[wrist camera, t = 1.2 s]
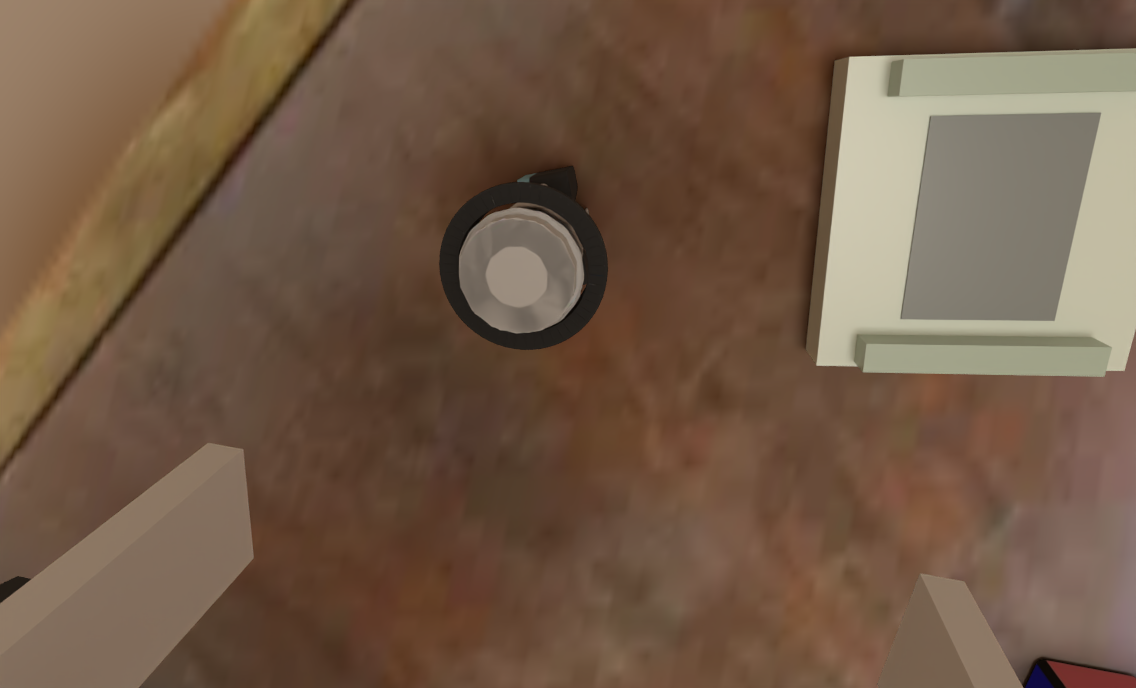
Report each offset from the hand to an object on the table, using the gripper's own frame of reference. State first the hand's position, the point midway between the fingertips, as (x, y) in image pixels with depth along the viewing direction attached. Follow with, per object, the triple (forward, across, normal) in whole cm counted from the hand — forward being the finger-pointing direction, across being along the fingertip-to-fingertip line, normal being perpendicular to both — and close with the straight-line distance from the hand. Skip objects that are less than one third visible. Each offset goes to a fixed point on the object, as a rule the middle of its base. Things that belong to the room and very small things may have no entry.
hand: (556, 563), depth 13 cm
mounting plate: (+19, -13, -5) cm, 24 cm away
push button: (+19, +3, -2) cm, 19 cm away
